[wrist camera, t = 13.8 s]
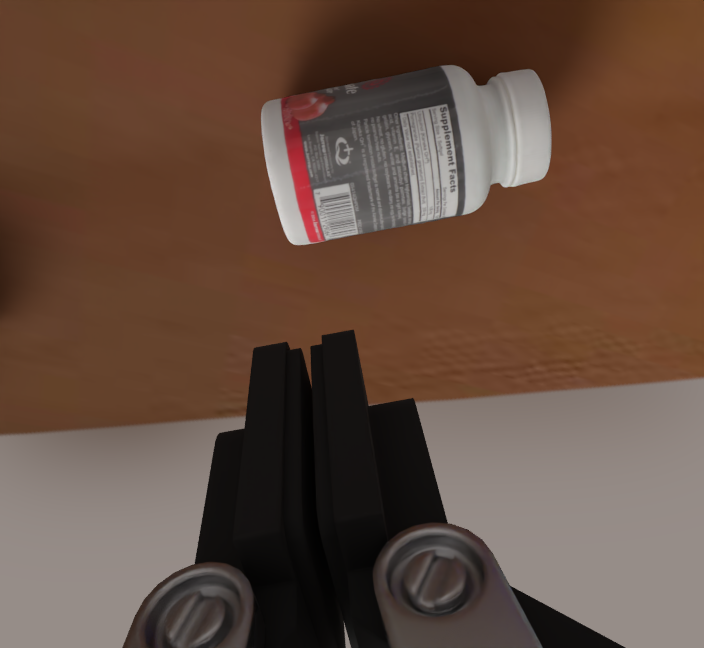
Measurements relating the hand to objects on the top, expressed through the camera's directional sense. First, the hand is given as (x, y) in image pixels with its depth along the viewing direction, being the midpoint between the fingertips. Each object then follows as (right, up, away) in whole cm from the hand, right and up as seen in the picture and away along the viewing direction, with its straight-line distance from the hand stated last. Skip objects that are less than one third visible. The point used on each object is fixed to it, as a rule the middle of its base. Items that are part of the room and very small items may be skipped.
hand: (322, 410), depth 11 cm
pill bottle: (-3, +7, +13) cm, 15 cm away
